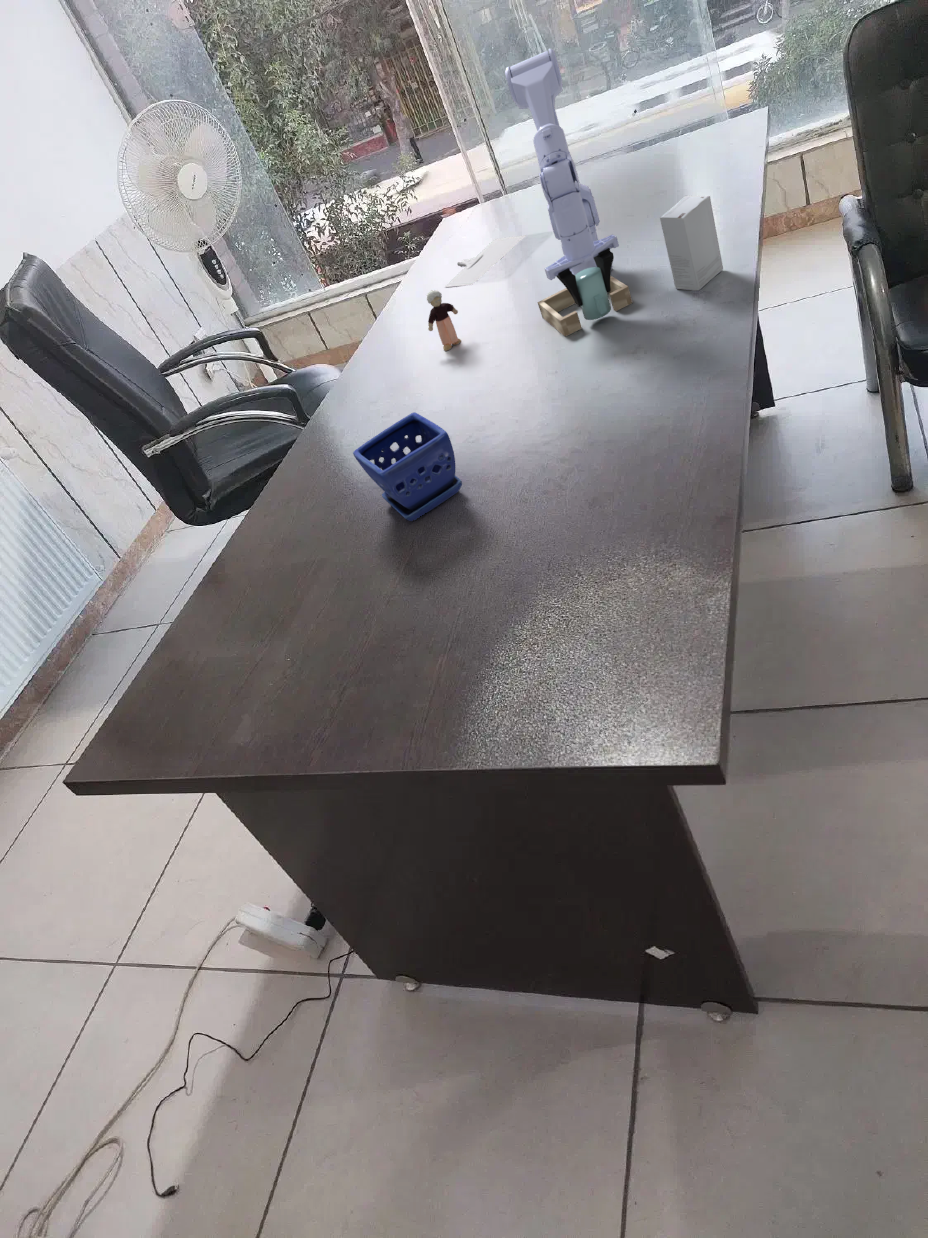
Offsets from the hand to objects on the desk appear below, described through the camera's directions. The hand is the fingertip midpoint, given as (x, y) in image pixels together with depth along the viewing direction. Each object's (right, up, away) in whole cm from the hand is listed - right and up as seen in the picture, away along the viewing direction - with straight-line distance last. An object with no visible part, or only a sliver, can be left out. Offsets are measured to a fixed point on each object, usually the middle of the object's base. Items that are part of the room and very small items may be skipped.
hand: (593, 297), depth 169 cm
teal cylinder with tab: (+1, -3, +1) cm, 3 cm away
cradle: (0, 0, +8) cm, 8 cm away
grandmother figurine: (-27, -2, +22) cm, 35 cm away
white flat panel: (-17, +28, +51) cm, 61 cm away
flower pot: (-32, -42, -21) cm, 57 cm away
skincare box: (+21, +3, 0) cm, 21 cm away
